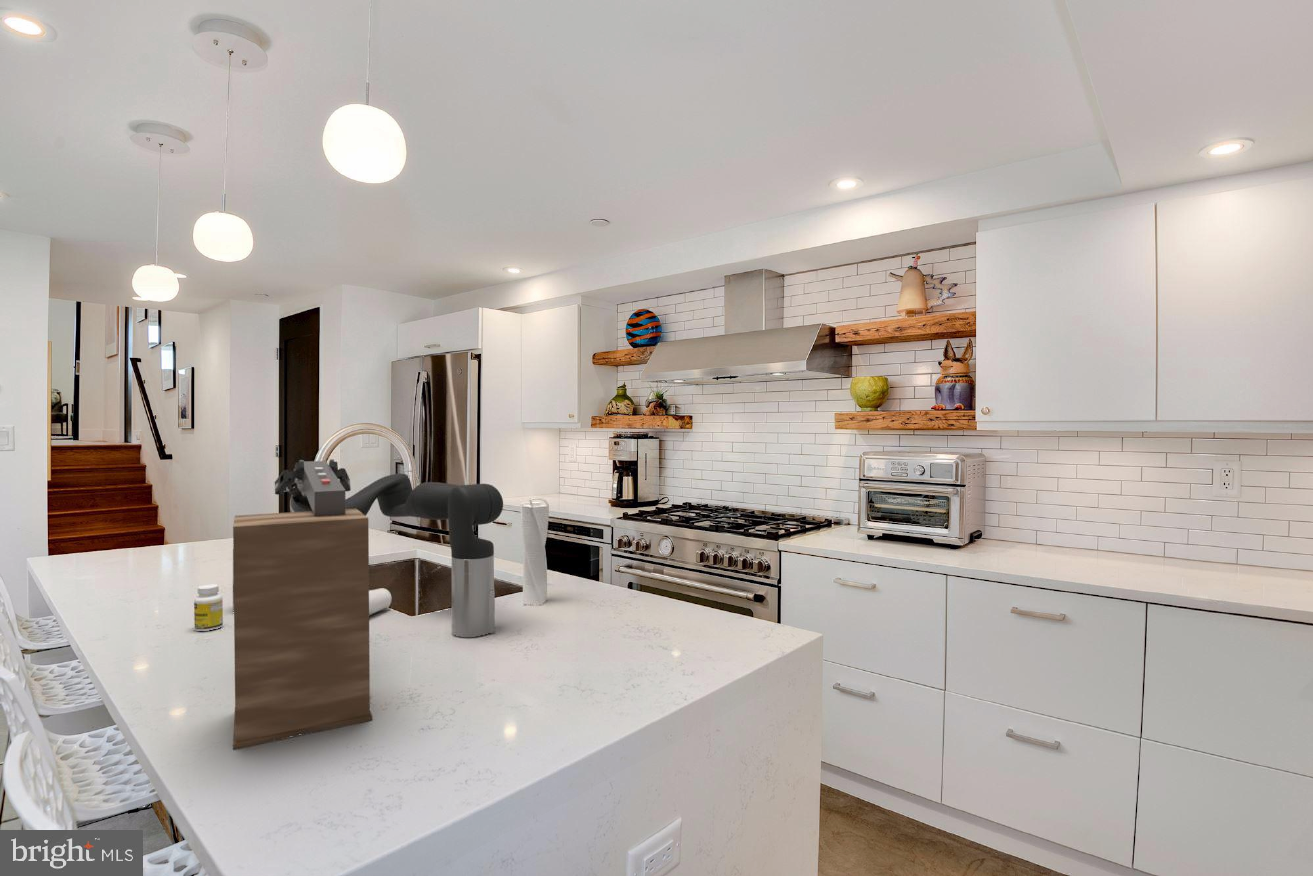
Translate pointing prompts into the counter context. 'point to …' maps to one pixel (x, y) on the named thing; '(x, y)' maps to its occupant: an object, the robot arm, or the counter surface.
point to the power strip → (323, 489)
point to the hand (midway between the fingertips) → (317, 464)
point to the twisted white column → (534, 551)
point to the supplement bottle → (208, 608)
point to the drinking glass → (378, 600)
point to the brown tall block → (300, 624)
